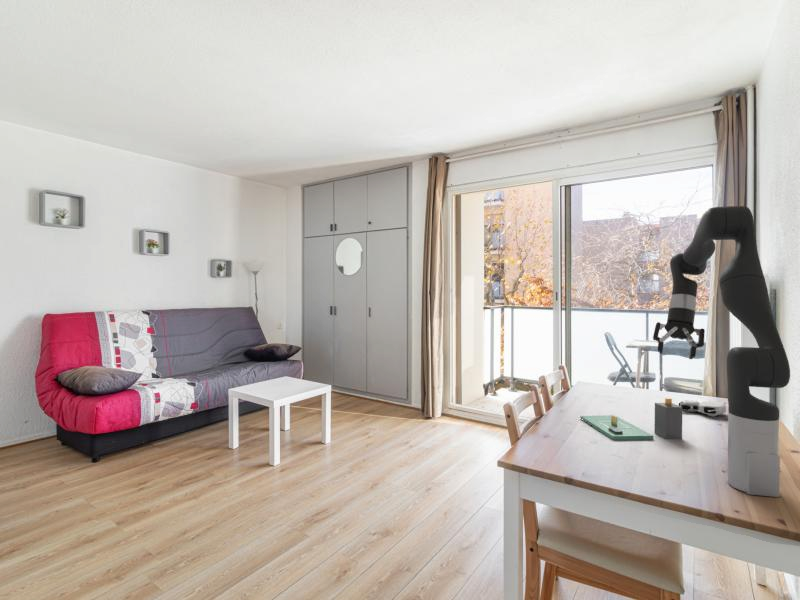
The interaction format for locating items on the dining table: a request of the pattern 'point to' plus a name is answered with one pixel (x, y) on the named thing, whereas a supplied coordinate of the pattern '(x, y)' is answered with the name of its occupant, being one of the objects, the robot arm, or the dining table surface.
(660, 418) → the block
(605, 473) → the dining table surface
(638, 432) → the header board
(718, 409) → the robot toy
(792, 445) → the dining table surface
